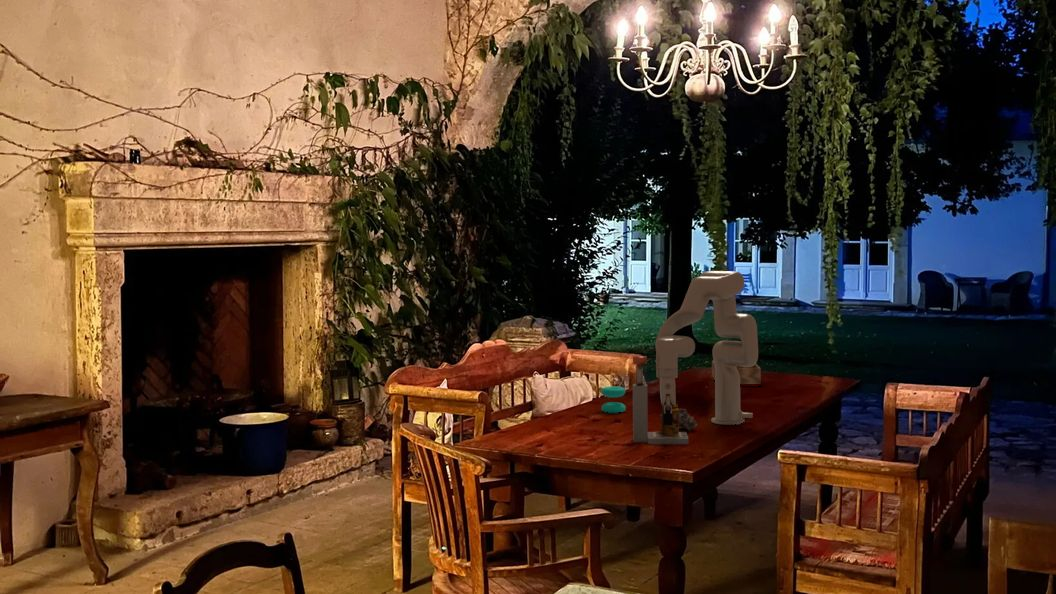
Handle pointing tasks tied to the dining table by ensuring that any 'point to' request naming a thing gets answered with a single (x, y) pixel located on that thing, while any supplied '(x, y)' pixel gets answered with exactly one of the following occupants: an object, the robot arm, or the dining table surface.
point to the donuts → (613, 406)
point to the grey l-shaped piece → (642, 421)
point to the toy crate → (746, 374)
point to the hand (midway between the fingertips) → (667, 422)
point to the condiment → (674, 428)
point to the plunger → (639, 368)
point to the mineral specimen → (685, 420)
